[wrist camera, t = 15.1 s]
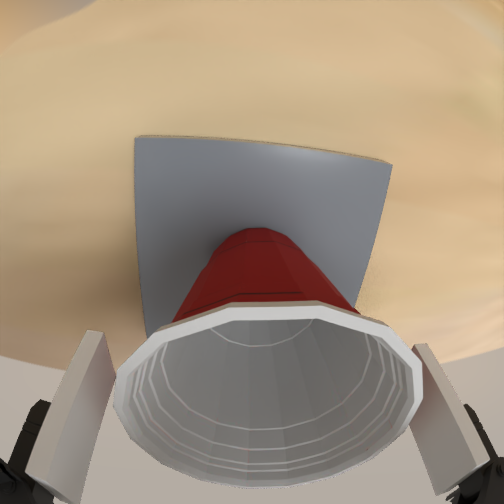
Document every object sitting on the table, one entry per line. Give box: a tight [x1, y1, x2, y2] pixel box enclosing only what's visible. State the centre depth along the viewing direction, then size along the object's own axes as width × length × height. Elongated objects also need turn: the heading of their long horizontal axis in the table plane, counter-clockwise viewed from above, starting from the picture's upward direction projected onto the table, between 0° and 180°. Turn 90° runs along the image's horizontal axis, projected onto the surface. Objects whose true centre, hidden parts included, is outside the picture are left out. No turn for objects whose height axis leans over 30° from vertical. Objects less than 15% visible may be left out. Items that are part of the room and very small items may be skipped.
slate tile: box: [134, 136, 392, 339], centre depth 20 cm, size 15×15×1 cm
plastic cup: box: [113, 228, 423, 489], centre depth 14 cm, size 11×11×12 cm
